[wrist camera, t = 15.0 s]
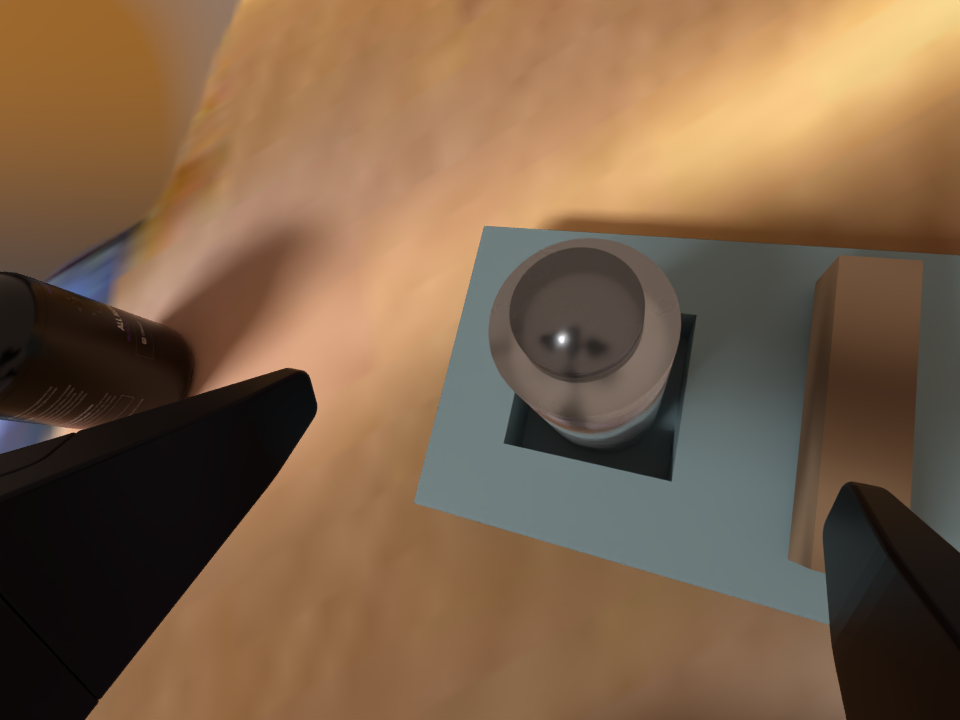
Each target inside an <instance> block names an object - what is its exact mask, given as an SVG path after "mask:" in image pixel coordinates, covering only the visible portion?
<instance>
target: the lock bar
mask: <svg viewBox="0 0 960 720" xmlns="http://www.w3.org/2000/svg"><path fill="white" fill-rule="evenodd" d="M922 277H923V261H920V260H905V259H890V258H875V257H859V256H844V255H839V256H838V257H837V259H836V260H835V261H834V262H833V263H832V264H831V265H830V267H829V268H828V269H827V270H826V271H825V272H824V273H823V275H822V276H821V277H820V278H819V279H818V280H817V281H816V283H815V293H814V303H813V313H812V323H811V333H810V343H809V353H808V362H807V372H806V382H805V392H804V402H803V412H802V422H801V432H800V442H799V452H798V462H797V472H796V482H795V492H794V502H793V512H792V522H791V532H790V542H789V552H788V560H790V561H792V562H795V563H797V564H799V565H802V566H804V567H806V568H809V569H811V570H815V571H819V572H822V573H825V564H824V552H823V539H822V535H823V527H824V523H825V520H826V518H827V516H828V514H829V512H830V510H831V508H832V506H833V504H834V501H835V499H836V497H837V495H838V493H839V491H840V489H841V487H842V486H843V485H844V484H845V483H847V482H850V481H854V482H858V483H863V484H868V485H873V486H878V487H882V488H884V489H886V490H888V491H889V492H890V493H892V494H893V495H894V496H895V497H896V498H897V499H899V500H900V501H901V502H902V503H903V504H904V505H905V506H907V507H908V508H909V509H910V503H911V484H912V466H913V447H914V428H915V409H916V390H917V371H918V352H919V333H920V314H921V296H922Z"/></svg>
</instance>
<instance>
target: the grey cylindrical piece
mask: <svg viewBox="0 0 960 720" xmlns="http://www.w3.org/2000/svg"><path fill="white" fill-rule="evenodd" d="M680 331H681V313H680V308H679V303H678V299H677V297H676V294H675V291H674V289H673V287H672V285H671V283H670V281H669V280H668V278H667V277H666V275H665V274H664V273H663V271H662V270H661V269H660V268H659V267H658V266H657V265H656V264H655V263H654V262H653V261H652V260H651V259H649V258H648V257H647V256H645V255H644V254H643V253H641V252H639V251H637V250H636V249H634V248H632V247H630V246H627V245H625V244H622V243H619V242H615V241H611V240H606V239H599V238H582V239H573V240H568V241H563V242H560V243H557V244H554V245H551V246H548V247H546V248H544V249H542V250H540V251H538V252H537V253H535V254H533V255H532V256H530V257H529V258H527V259H526V260H525V261H523V262H522V263H521V264H520V265H519V266H518V267H517V268H516V269H515V270H514V271H513V272H512V273H511V274H510V275H509V276H508V278H507V279H506V280H505V282H504V283H503V285H502V286H501V288H500V290H499V292H498V294H497V296H496V298H495V300H494V303H493V306H492V309H491V313H490V318H489V328H488V336H489V346H490V350H491V355H492V358H493V360H494V363H495V365H496V367H497V369H498V371H499V373H500V375H501V376H502V378H503V379H504V381H505V382H506V383H507V385H508V386H509V387H510V388H511V389H512V390H513V391H514V392H515V393H516V394H517V395H518V396H519V397H520V398H522V399H523V400H524V401H525V402H526V403H527V404H528V405H529V406H530V407H531V408H532V409H534V410H535V411H536V412H537V413H538V414H539V415H540V416H541V417H542V418H543V419H544V420H545V421H547V422H548V423H549V424H550V425H551V426H552V427H553V428H554V429H555V430H556V431H557V432H558V433H560V434H561V435H562V436H563V437H564V438H565V439H566V440H567V441H569V442H570V443H571V444H573V445H575V446H576V447H578V448H580V449H583V450H586V451H589V452H593V453H603V454H606V453H615V452H619V451H622V450H625V449H628V448H630V447H631V446H633V445H635V444H636V443H638V442H639V441H640V440H641V439H642V438H643V437H645V436H646V434H647V433H648V432H649V431H650V429H651V427H652V426H653V424H654V421H655V419H656V416H657V413H658V410H659V407H660V403H661V400H662V397H663V393H664V390H665V387H666V383H667V380H668V377H669V374H670V370H671V367H672V364H673V360H674V357H675V354H676V350H677V347H678V343H679V339H680Z"/></svg>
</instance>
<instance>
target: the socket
mask: <svg viewBox="0 0 960 720" xmlns="http://www.w3.org/2000/svg"><path fill="white" fill-rule="evenodd" d="M582 238H599V239H606V240H611V241H615V242H619V243H622V244H625V245H627V246H630V247H632V248H634V249H636V250H637V251H639V252H641V253H643V254H644V255H645V256H647V257H648V258H649V259H651V260H652V261H653V262H654V263H655V264H656V265H657V266H658V267H659V268H660V269H661V270H662V271H663V273H664V274H665V275H666V277H667V278H668V280H669V281H670V283H671V285H672V287H673V289H674V291H675V294H676V297H677V299H678V303H679V308H680V313H681V331H680V339H679V343H678V347H677V350H676V354H675V357H674V360H673V364H672V367H671V370H670V374H669V377H668V380H667V383H666V387H665V390H664V393H663V397H662V400H661V403H660V407H659V410H658V413H657V416H656V419H655V421H654V424H653V426H652V427H651V429H650V431H649V432H648V433H647V434H646V436H645V437H643V438H642V439H641V440H640V441H639V442H638V443H636V444H635V445H633V446H631V447H630V448H628V449H625V450H622V451H619V452H615V453H606V454H603V453H593V452H589V451H586V450H583V449H580V448H578V447H576V446H575V445H573V444H571V443H570V442H569V441H567V440H566V439H565V438H564V437H563V436H562V435H561V434H560V433H558V432H557V431H556V430H555V429H554V428H553V427H552V426H551V425H550V424H549V423H548V422H547V421H545V420H544V419H543V418H542V417H541V416H540V415H539V414H538V413H537V412H536V411H535V410H534V409H532V408H531V407H530V406H529V405H528V404H527V403H526V402H525V401H524V400H523V399H522V398H520V397H519V396H518V395H517V394H516V393H515V392H514V391H513V390H512V389H511V388H510V387H509V386H508V385H507V383H506V382H505V381H504V379H503V378H502V376H501V375H500V373H499V371H498V369H497V367H496V365H495V363H494V360H493V358H492V355H491V350H490V346H489V336H488V328H489V318H490V313H491V309H492V306H493V303H494V300H495V298H496V296H497V294H498V292H499V290H500V288H501V286H502V285H503V283H504V282H505V280H506V279H507V278H508V276H509V275H510V274H511V273H512V272H513V271H514V270H515V269H516V268H517V267H518V266H519V265H520V264H521V263H522V262H523V261H525V260H526V259H527V258H529V257H530V256H532V255H533V254H535V253H537V252H538V251H540V250H542V249H544V248H546V247H548V246H551V245H554V244H557V243H560V242H563V241H568V240H573V239H582ZM839 255H844V256H859V257H875V258H890V259H905V260H920V261H923V277H922V296H921V314H920V333H919V352H918V371H917V390H916V409H915V428H914V447H913V466H912V484H911V503H910V510H911V511H912V512H914V513H915V514H916V515H917V516H918V517H919V518H920V519H922V520H923V521H924V522H925V523H926V524H927V525H929V526H930V527H931V528H932V529H933V530H934V531H935V532H937V533H938V534H939V535H940V536H941V537H942V538H944V539H945V540H946V541H947V542H948V543H949V544H950V545H952V546H953V547H954V548H955V549H956V550H957V551H959V552H960V255H947V254H931V253H914V252H898V251H882V250H866V249H849V248H833V247H817V246H801V245H785V244H768V243H752V242H736V241H720V240H704V239H687V238H671V237H655V236H639V235H623V234H606V233H590V232H574V231H558V230H541V229H525V228H509V227H493V226H484V228H483V232H482V236H481V240H480V244H479V248H478V252H477V256H476V260H475V264H474V268H473V272H472V276H471V280H470V284H469V288H468V291H467V295H466V299H465V303H464V307H463V311H462V315H461V319H460V323H459V327H458V331H457V335H456V339H455V343H454V347H453V351H452V355H451V358H450V362H449V366H448V370H447V374H446V378H445V382H444V386H443V390H442V394H441V398H440V402H439V406H438V410H437V414H436V418H435V421H434V425H433V429H432V433H431V437H430V441H429V445H428V449H427V453H426V457H425V461H424V465H423V469H422V473H421V477H420V481H419V485H418V488H417V492H416V496H415V500H414V503H416V504H419V505H422V506H426V507H429V508H433V509H436V510H439V511H443V512H446V513H450V514H453V515H457V516H460V517H463V518H467V519H470V520H474V521H477V522H480V523H484V524H487V525H491V526H494V527H497V528H501V529H504V530H508V531H511V532H515V533H518V534H521V535H525V536H528V537H532V538H535V539H538V540H542V541H545V542H549V543H552V544H556V545H559V546H562V547H566V548H569V549H573V550H576V551H579V552H583V553H586V554H590V555H593V556H597V557H600V558H603V559H607V560H610V561H614V562H617V563H620V564H624V565H627V566H631V567H634V568H637V569H641V570H644V571H648V572H651V573H655V574H658V575H661V576H665V577H668V578H672V579H675V580H678V581H682V582H685V583H689V584H692V585H696V586H699V587H702V588H706V589H709V590H713V591H716V592H719V593H723V594H726V595H730V596H733V597H737V598H740V599H743V600H747V601H750V602H754V603H757V604H760V605H764V606H767V607H771V608H774V609H777V610H781V611H784V612H788V613H791V614H795V615H798V616H801V617H805V618H808V619H812V620H815V621H818V622H822V623H825V624H829V612H828V600H827V588H826V576H825V573H822V572H819V571H815V570H811V569H809V568H806V567H804V566H802V565H799V564H797V563H795V562H792V561H790V560H788V552H789V542H790V532H791V522H792V512H793V502H794V492H795V482H796V472H797V462H798V452H799V442H800V432H801V422H802V412H803V402H804V392H805V382H806V372H807V362H808V353H809V343H810V333H811V323H812V313H813V303H814V293H815V283H816V281H817V280H818V279H819V278H820V277H821V276H822V275H823V273H824V272H825V271H826V270H827V269H828V268H829V267H830V265H831V264H832V263H833V262H834V261H835V260H836V259H837V257H838V256H839ZM829 625H830V624H829Z"/></svg>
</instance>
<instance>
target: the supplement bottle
mask: <svg viewBox="0 0 960 720" xmlns="http://www.w3.org/2000/svg"><path fill="white" fill-rule="evenodd" d="M191 375H192V357H191V353H190V349H189V347H188V345H187V343H186V341H185V340H184V339H183V337H182V336H181V335H180V334H179V333H177V332H176V331H175V330H173V329H171V328H169V327H166V326H164V325H161V324H158V323H156V322H153V321H151V320H148V319H145V318H142V317H140V316H137V315H134V314H131V313H129V312H126V311H123V310H120V309H117V308H115V307H112V306H109V305H106V304H104V303H101V302H98V301H95V300H93V299H90V298H87V297H84V296H81V295H79V294H76V293H73V292H70V291H68V290H65V289H62V288H59V287H57V286H54V285H51V284H48V283H45V282H43V281H40V280H37V279H34V278H31V277H28V276H25V275H22V274H19V273H14V272H7V271H3V272H1V271H0V420H8V421H16V422H24V423H33V424H41V425H49V426H57V427H65V428H74V429H82V430H84V429H87V428H90V427H94V426H97V425H100V424H103V423H107V422H110V421H113V420H117V419H120V418H123V417H126V416H130V415H133V414H136V413H140V412H143V411H146V410H149V409H153V408H156V407H159V406H163V405H166V404H169V403H173V402H176V401H179V400H182V399H184V397H185V395H186V393H187V390H188V387H189V384H190V380H191Z"/></svg>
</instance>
